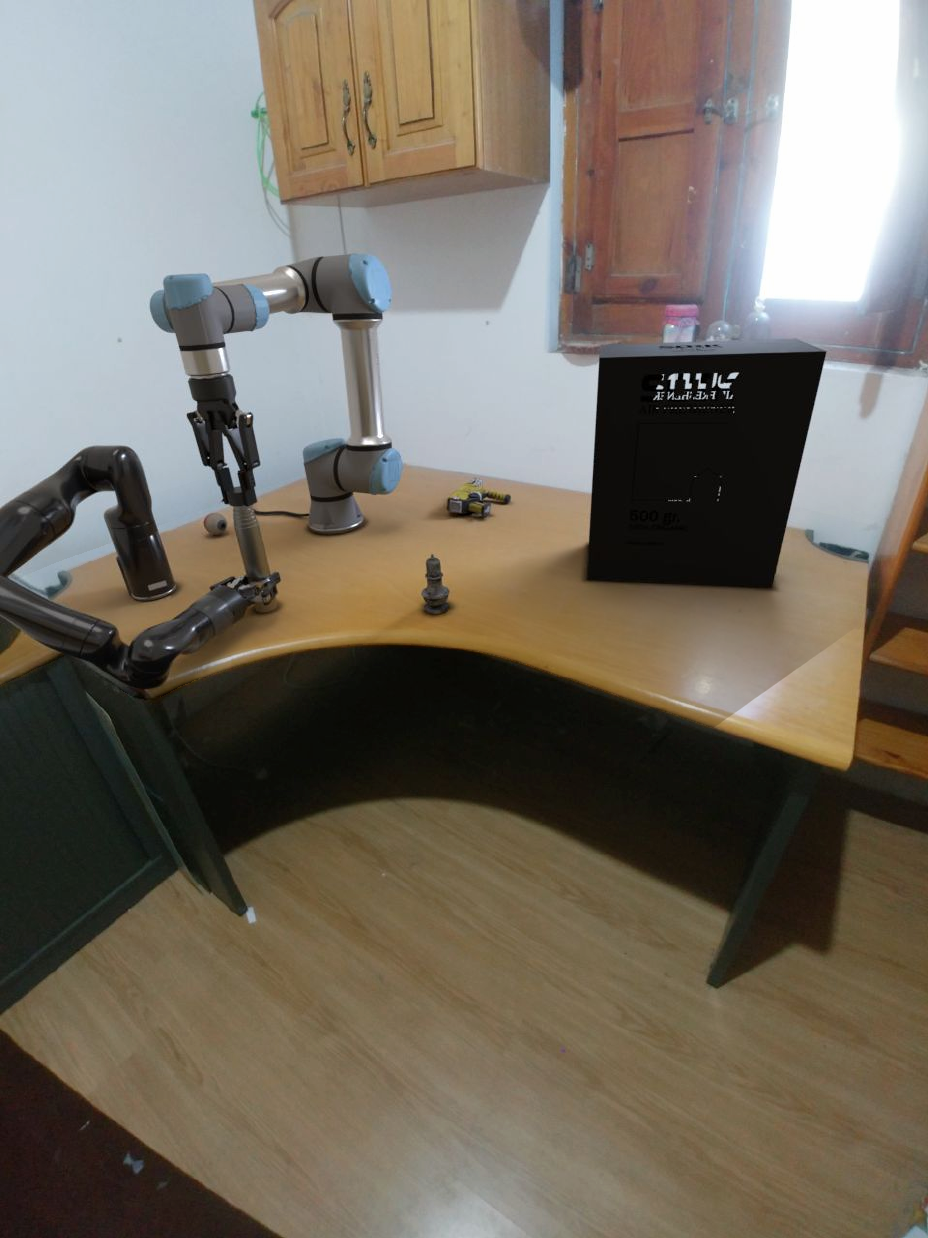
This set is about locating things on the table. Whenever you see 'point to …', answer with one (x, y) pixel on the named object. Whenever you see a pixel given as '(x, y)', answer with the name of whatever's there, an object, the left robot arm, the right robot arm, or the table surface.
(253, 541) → the bottle
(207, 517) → the eyeball
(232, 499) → the cap
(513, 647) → the table surface
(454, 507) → the toy gun
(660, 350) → the cardboard box
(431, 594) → the grey metal turned piece
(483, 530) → the table surface
